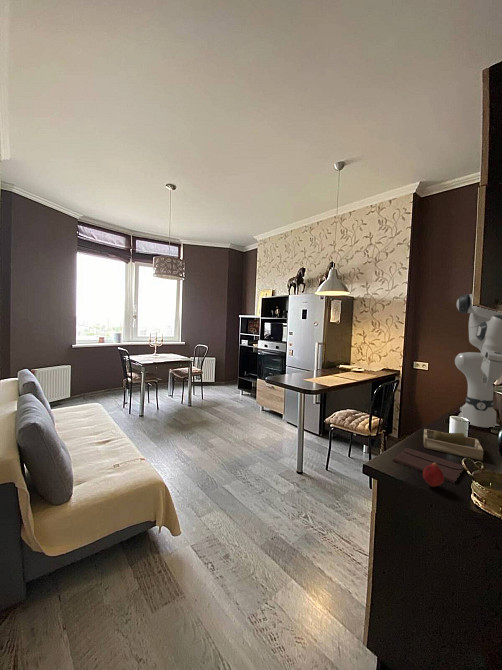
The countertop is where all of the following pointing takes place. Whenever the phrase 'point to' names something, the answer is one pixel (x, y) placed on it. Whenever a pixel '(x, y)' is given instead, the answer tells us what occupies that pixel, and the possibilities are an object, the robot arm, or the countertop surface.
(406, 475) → the countertop surface
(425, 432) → the tray
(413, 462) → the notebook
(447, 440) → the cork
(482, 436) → the countertop surface
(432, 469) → the onion
